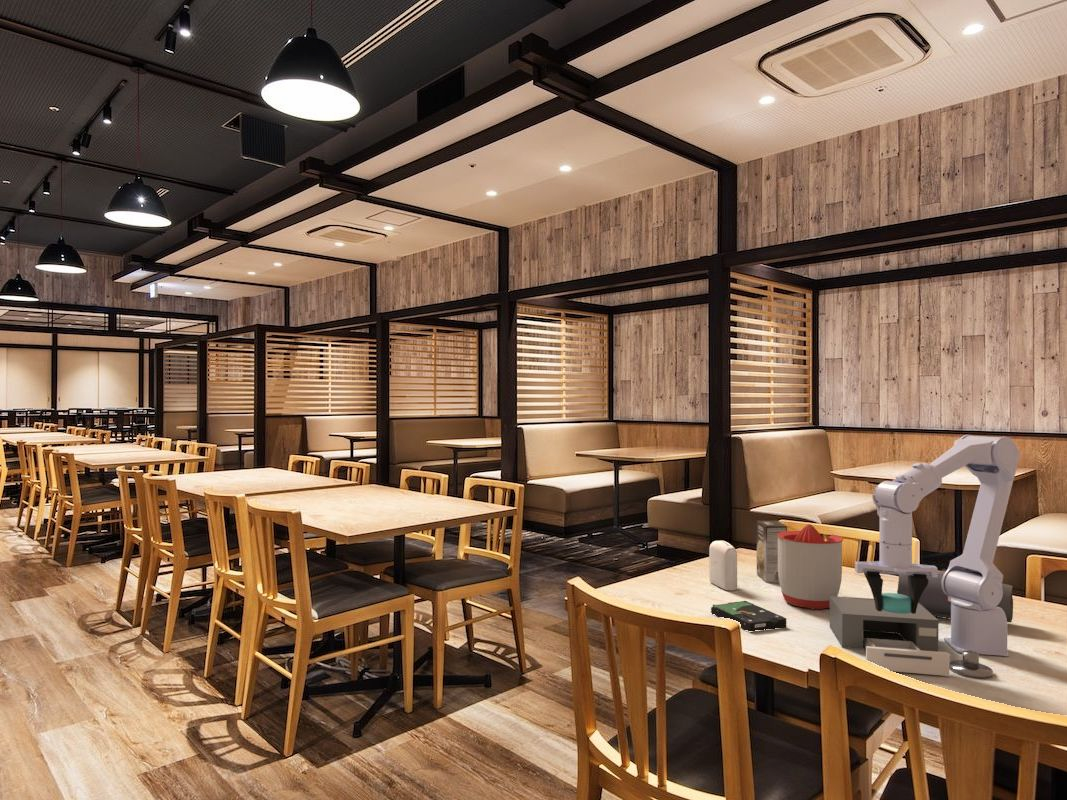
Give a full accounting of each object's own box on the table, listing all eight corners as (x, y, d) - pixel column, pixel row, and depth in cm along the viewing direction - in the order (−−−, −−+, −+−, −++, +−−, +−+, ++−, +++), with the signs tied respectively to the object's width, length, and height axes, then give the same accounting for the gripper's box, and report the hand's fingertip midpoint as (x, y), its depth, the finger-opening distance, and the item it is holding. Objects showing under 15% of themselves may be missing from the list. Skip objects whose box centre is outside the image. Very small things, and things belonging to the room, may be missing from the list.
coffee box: (755, 574, 204) (755, 520, 204) (777, 574, 204) (777, 520, 204) (765, 582, 195) (765, 525, 195) (788, 582, 195) (788, 525, 195)
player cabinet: (917, 633, 153) (917, 601, 153) (938, 655, 139) (938, 620, 139) (829, 627, 157) (829, 595, 157) (842, 647, 143) (842, 613, 143)
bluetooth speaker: (896, 613, 167) (896, 572, 167) (903, 604, 175) (903, 565, 175) (1010, 633, 153) (1011, 587, 153) (1013, 622, 161) (1013, 579, 161)
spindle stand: (983, 666, 134) (983, 648, 134) (999, 680, 127) (999, 661, 127) (943, 663, 135) (943, 645, 135) (956, 676, 128) (956, 657, 128)
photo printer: (707, 582, 196) (707, 538, 196) (721, 581, 197) (721, 537, 197) (724, 591, 186) (725, 545, 186) (739, 590, 187) (739, 544, 187)
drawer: (922, 647, 143) (922, 628, 143) (949, 676, 128) (949, 654, 128) (849, 642, 146) (849, 622, 146) (867, 669, 131) (867, 648, 131)
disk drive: (787, 630, 156) (745, 611, 170) (787, 618, 156) (745, 599, 170) (749, 635, 152) (709, 615, 166) (749, 623, 152) (709, 603, 166)
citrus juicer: (855, 602, 176) (855, 523, 176) (827, 616, 164) (827, 532, 164) (795, 590, 187) (796, 516, 188) (765, 603, 175) (765, 523, 175)
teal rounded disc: (906, 606, 140) (906, 594, 140) (915, 614, 134) (915, 601, 134) (876, 604, 141) (876, 592, 141) (884, 612, 135) (884, 599, 135)
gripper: (860, 544, 135) (860, 614, 135) (943, 548, 132) (942, 619, 132) (852, 537, 142) (852, 604, 142) (930, 541, 139) (930, 609, 139)
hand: (895, 611), depth 138 cm, fingers closed on teal rounded disc, 5 cm apart
